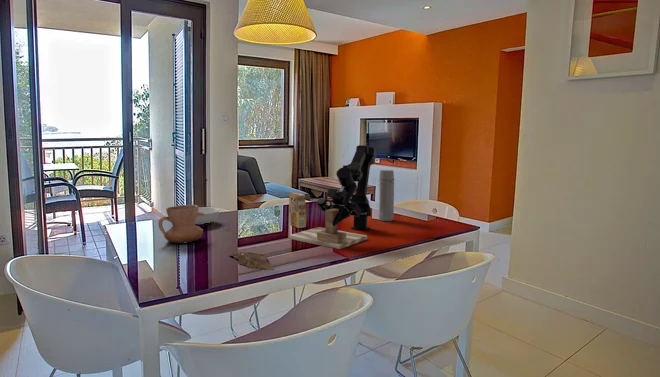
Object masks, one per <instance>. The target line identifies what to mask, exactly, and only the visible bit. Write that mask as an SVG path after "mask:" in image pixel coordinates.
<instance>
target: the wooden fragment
mask: <svg viewBox="0 0 660 377" xmlns="http://www.w3.org/2000/svg"><path fill="white" fill-rule="evenodd" d="M237 252H238V254H236V252H234V253H235V254H233V253H231V254H232V255H233V256H234V257H235V256H238V257H235V258H234V260H236V259H238V260H237V261H238V264H239V265H243V266H245V267H246V268H249V269H261V270H267V271H275V268H274V267H273V265H272V263H271V262H270V260H269V259H268V257H266V255H264V254H261V253H254V252H248V251H243V250H238V251H237ZM239 253H240V254H239ZM241 253H244V255H241Z"/></svg>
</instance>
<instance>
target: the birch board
mask: <svg viewBox="0 0 660 377" xmlns="http://www.w3.org/2000/svg"><path fill="white" fill-rule="evenodd" d="M322 230H325V227H321V226H317V227H314V228H310V229H306V230H303V231H302V230H301V231H299V232H296V233H292V234H289V235H288V238H289V240H293V241H298V242H303V243H308V244H312V245H318V246H323V247H327V248H331V249H336V250H341V249H344V248H346V247H347V248H348V247H349V246H352V245H355V244H358V243H360V242H361V243H362V242H363V241H366V240H368V235H366V234H359V233H356V232H347V231H345V230H344V231H343V230H338V232H344V233H346V241H343V242H340V243H332V242H327V241H322V240H317V232H319V231H322Z"/></svg>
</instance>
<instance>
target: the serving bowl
mask: <svg viewBox="0 0 660 377" xmlns="http://www.w3.org/2000/svg"><path fill="white" fill-rule="evenodd" d="M198 212H204V215H199V216H198V217H197V218H196V220H195V223H194V224H204V223H209V224H211V223H213V222H215V221H216V219H217V218H218V216H219V213H220V212H219V209H218V208H216V207H208V206H198ZM210 222H211V223H210Z"/></svg>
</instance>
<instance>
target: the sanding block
mask: <svg viewBox="0 0 660 377" xmlns="http://www.w3.org/2000/svg"><path fill="white" fill-rule="evenodd" d="M324 213H325V214H324V216H325V218H324V225H325V226H324V228H325V230H322V231H319V232H317V240H322V241H327V242H332V243H340V242H343V241H346V233H344V232H345V231H344V232H338V231H339V230H338V229H339V223H338V224H336V225H335V226H333V222H334V219H335V217H336V215H337V213H338V209H328V210H325V212H324Z"/></svg>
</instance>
